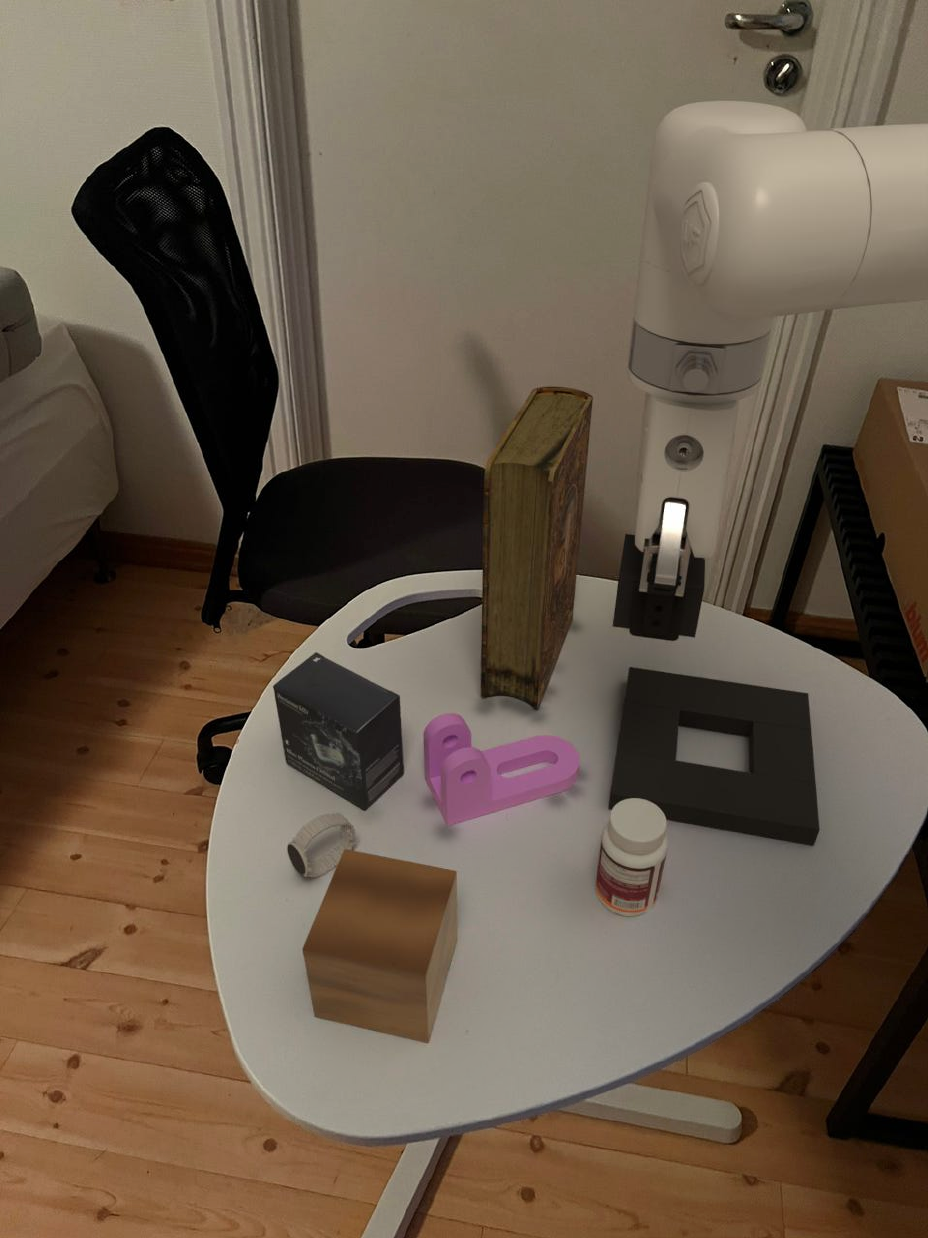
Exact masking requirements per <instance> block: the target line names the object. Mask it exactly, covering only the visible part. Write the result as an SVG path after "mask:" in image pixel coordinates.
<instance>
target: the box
mask: <svg viewBox="0 0 928 1238" xmlns="http://www.w3.org/2000/svg"><path fill="white" fill-rule="evenodd" d="M272 688H273V693H274V700H275V701H274V702H275V705H276V711H277V718H278V723H279V730H280V734H281V735H280V736H281V740H282V747H283V751H284V759H285V762H286V764H287V765H289V766H291V767H292V768H294V769H295V770H297V771H299V772H301V773H302V774H304V775H305V776H307V777H309V778H311V780H314V781H315V782H317V783H318V784H320V785H322V786H324V787H325V788H327V789H328V790H330V791H332V792H333V793H334V794H337V795H338V796H340V797H342V798H343V799H346V800H347V801H348V802H350V803H352V804H353V805H355V806H357V807H358V808H359V809H361V810H363V811H366V810H367V809H368V808H369V807H371V806H372V805H373V804H374V803H375V802H377V800H378V799H379V798H380V797H381V796H382V795H383V794H384V793H386V791H387V790H389V788H390V787H391V786H392V785H394V784H395V783H396V782H397V781H398V780H399V779H401V777H403V776H404V774H405V765H404V748H403V746H404V745H403V734H402V731H403V730H402V714H401V712H402V709H401V708H402V707H401V695H400V694H398V693H396V692H394V691H393V690H390V689H388V688H385V687H383V686H382V685H379V684H378V683H376V682H373V681H371V680H370V679H369V678H366V677H364V676H362V675H360V674H358V673H356V672H354V671H352V670H351V669H348V668H346V667H345V666H342V665H341V664H338V663H337V662H335V661H333V660H331V659H329V658H327V657H325V655H322V654H320V653H319V652H317V651H316V652H314V653H313V654H312V655H310V656H308V658H306V659H305V660H304V661H302V663H300V664H299V665H298V666H296V667H295V668H294V669H292V670H291V671H290V672H288V673H287V674H286V675H284V676H283V677H282V678H281V679H279V680H278V681H277V682H276V683H274V684H273V686H272Z"/></svg>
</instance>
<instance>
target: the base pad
mask: <svg viewBox="0 0 928 1238" xmlns="http://www.w3.org/2000/svg"><path fill="white" fill-rule="evenodd" d="M809 696H810V695H809V692H801V691H795V690H788V689H781V688H775V687H768V686H761V685H755V684H749V683H742V682H736V681H730V680H729V681H728V680H721V679H716V678H708V677H702V676H695V675H688V674H683V673H674V672H669V671H668V672H667V671H662V670H656V669H655V670H654V669H649V668H641V667H634V666H629V667H628V674H627V679H626V688H625V694H624V699H623V700H624V701H623V708H622V713H621V720H620V727H619V734H618V741H617V748H616V754H615V760H614V768H613V775H612V781H611V788H610V795H609V801H608V807H607V808H608V810H610V811H611V810H612V809H613V807H614V806H615V805H616V804H617V803H619V802H620V801H622V800H625V799H630V798H640V799H644V800H647V801H650V802H652V803H654V804H655V805H657V806H658V807H659V808H660V809H661V810H662V812H663V813H664V815H665V817H666V821H672V822H677V823H683V824H689V825H695V826H698V827H699V826H701V827H705V828H710V829H717V830H721V831H722V830H723V831H728V832H734V833H740V834H746V835H751V836H756V837H762V838H768V839H773V840H780V841H785V842H790V843H796V844H802V845H805V846H806V845H807V846H812V847H813V846H815V844H816V840H817V838H818V835H819V832H820V819H819V810H818V809H819V808H818V807H819V806H818V795H817V783H816V774H815V773H816V772H815V770H816V769H815V761H814V759H815V758H814V747H813V735H812V723H811V711H810V709H811V708H810V698H809ZM680 727H684V728H691V729H696V730H702V731H709V732H714V733H722V734H727V735H734V736H740V737H746V738H748V771H743V770H736V769H730V768H724V767H718V766H712V765H706V764H702V763H701V764H700V763H695V762H687V761H682V760H677V752H678V741H679V740H678V738H679V728H680Z"/></svg>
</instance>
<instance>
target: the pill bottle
mask: <svg viewBox="0 0 928 1238" xmlns="http://www.w3.org/2000/svg"><path fill="white" fill-rule="evenodd" d="M608 819H609V820H608V822H607V823H606V825H605V826H604V828H603V830H602V833H601V837H600V848H599V855H598V863H597V870H596V879H595V891H596V895H597V897H598V899H599V901H600V902H601V904H602V905H603V906H604V907H605V908H607V909H608V910H609V911H610V912H612V913H614V914H617V915H619V916H623V917H624V916H625V917H637V916H641V915H644V914H646V913H647V912H649V911H651V910H652V908H653V907H654V906H655V905H656V903H657V901H658V896H659V892H660V888H661V883H662V877H663V874H664V873H663V872H664V868H665V863H666V859H667V854H668V849H669V848H668V847H669V846H668V845H669V843H668V839H667V836H666V834H667V833H666V832H667V827H668V825H667V823H668V820H666V817H665V815H664V813H663V812H662V810H661V809H660V808H659V807H658V806H657V805H655V804H654V803H652V802H650V801H647V800H644V799H640V798H630V799H625V800H622V801H620V802H619V803H617V804H616V805H615V806H614V807H613V809H612V810H610V813H609V818H608Z"/></svg>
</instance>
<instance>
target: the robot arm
mask: <svg viewBox="0 0 928 1238" xmlns="http://www.w3.org/2000/svg"><path fill="white" fill-rule="evenodd" d="M649 164H650V165H649V172H648V173H649V174H648V182H647V191H646V200H645V209H644V217H643V224H642V225H643V227H642V235H641V244H640V253H639V262H638V270H637V278H636V279H637V280H636V288H635V298H634V305H633V306H634V307H633V316H632V325H631V331H630V333H631V334H630V340H629V341H630V342H629V351H628V360H627V369H626V375H627V379H628V380H629V381H630V382H631V384H632V385H634V386H635V387H636V388H638V389H639V390H641V391H643V392H645V394H644V401H643V402H644V403H643V411H642V419H641V429H640V438H639V447H638V457H637V458H638V460H637V469H636V470H637V471H636V488H635V515H634V516H635V520H634V535H635V545H636V547H637V548H638V549H639V550H640V551H641V552H643V550H644V558H643V565H642V572H641V579H640V582H636V586H635V593H634V600H633V607H632V615H631V622H630V629H628V630H629V631H628V632H629V634H630V635H631V636H633V637H639V638H646V639H652V640H653V639H654V640H661V641H669V642H676V641H678V640H679V638H680V636H679V633H680V628H681V622H682V617H683V611H684V606H685V600H686V595H687V588H685V582H686V576H687V569H688V563H689V556H690V554H691V548H692V551H693V554H694V557H696V558H703V559H704V560H705V561H707V560H710V559H712V558H713V557H714V556H715V554H716V549H717V541H718V535H719V530H720V523H721V517H722V512H723V511H722V510H723V505H724V501H725V496H726V495H725V494H726V488H727V484H728V477H729V471H730V466H731V460H732V455H733V448H734V442H735V434H736V428H737V419H738V410H739V402H740V401H741V400H744V399H746V398H748V397H751V396H752V395H753V394H755V393H756V391H758V390H759V388H760V386H761V381H762V376H763V372H764V371H763V370H764V367H765V362H766V356H767V351H768V347H769V342H770V336H771V332H772V328H773V324H774V318H775V317H776V318H777V317H785V316H793V315H802V314H810V313H819V312H822V311H832V310H833V311H834V310H841V309H849V308H859V307H867V306H876V305H886V304H887V305H889V304H900V303H910V302H911V303H912V302H918V301H927V300H928V123H905V124H903V123H902V124H885V125H869V126H867V125H866V126H853V127H835V128H826V129H822V130H808V129H807V127H806V125H805V123H804V120H803V119H802V118H801V117H800V116H799V115H798V114H796V112H793V111H791V110H789V109H787V108H785V107H782V106H778V105H774V104H769V103H761V102H755V101H754V102H753V101H744V100H743V101H742V100H710V101H709V100H707V101H698V102H691V103H687V104H684V105H681V106H678V107H676V108H673V109H672V110H671V111H670V112H668V113H667V114H665V116H664V117H663V118H662V120H661V121H660V122H659V125H658V127H657V129H656V131H655V134H654V137H653V143H652V150H651V155H650V163H649ZM652 537H656V538H660V542H658V541H652ZM681 540H682V541H685V543H684V544H681ZM653 554H654V555H658V557H657V564H656V568H652V569H651V562H652V555H653ZM679 558H680V560H679ZM678 563H679V566H678ZM650 569H651V570H650Z"/></svg>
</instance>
